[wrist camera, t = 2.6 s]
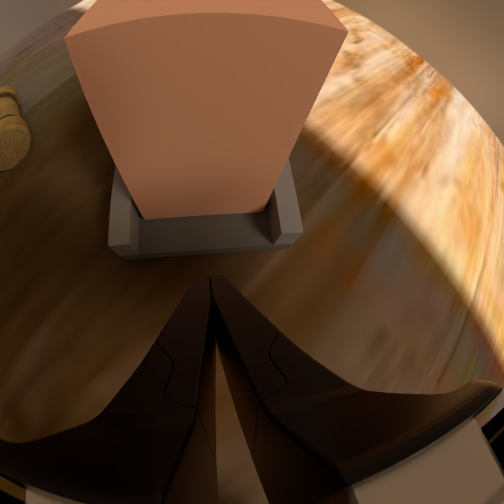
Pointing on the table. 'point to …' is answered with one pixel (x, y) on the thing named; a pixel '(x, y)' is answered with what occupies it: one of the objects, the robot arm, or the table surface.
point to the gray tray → (204, 226)
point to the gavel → (12, 130)
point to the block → (202, 94)
